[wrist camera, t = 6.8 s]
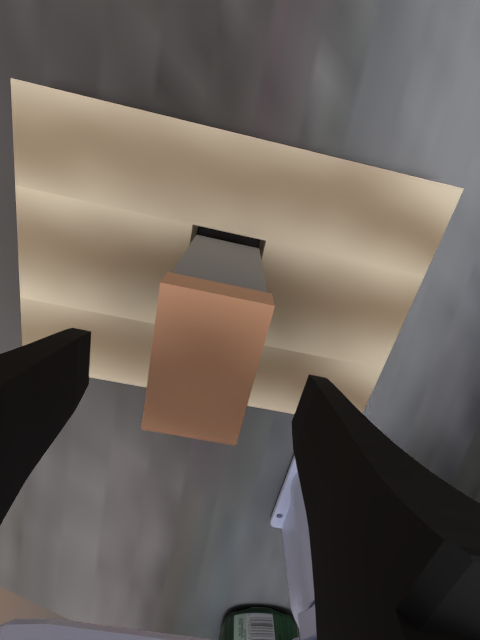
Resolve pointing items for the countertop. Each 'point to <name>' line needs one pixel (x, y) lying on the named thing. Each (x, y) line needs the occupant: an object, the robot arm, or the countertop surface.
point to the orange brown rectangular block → (207, 341)
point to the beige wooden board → (220, 214)
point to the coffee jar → (258, 625)
